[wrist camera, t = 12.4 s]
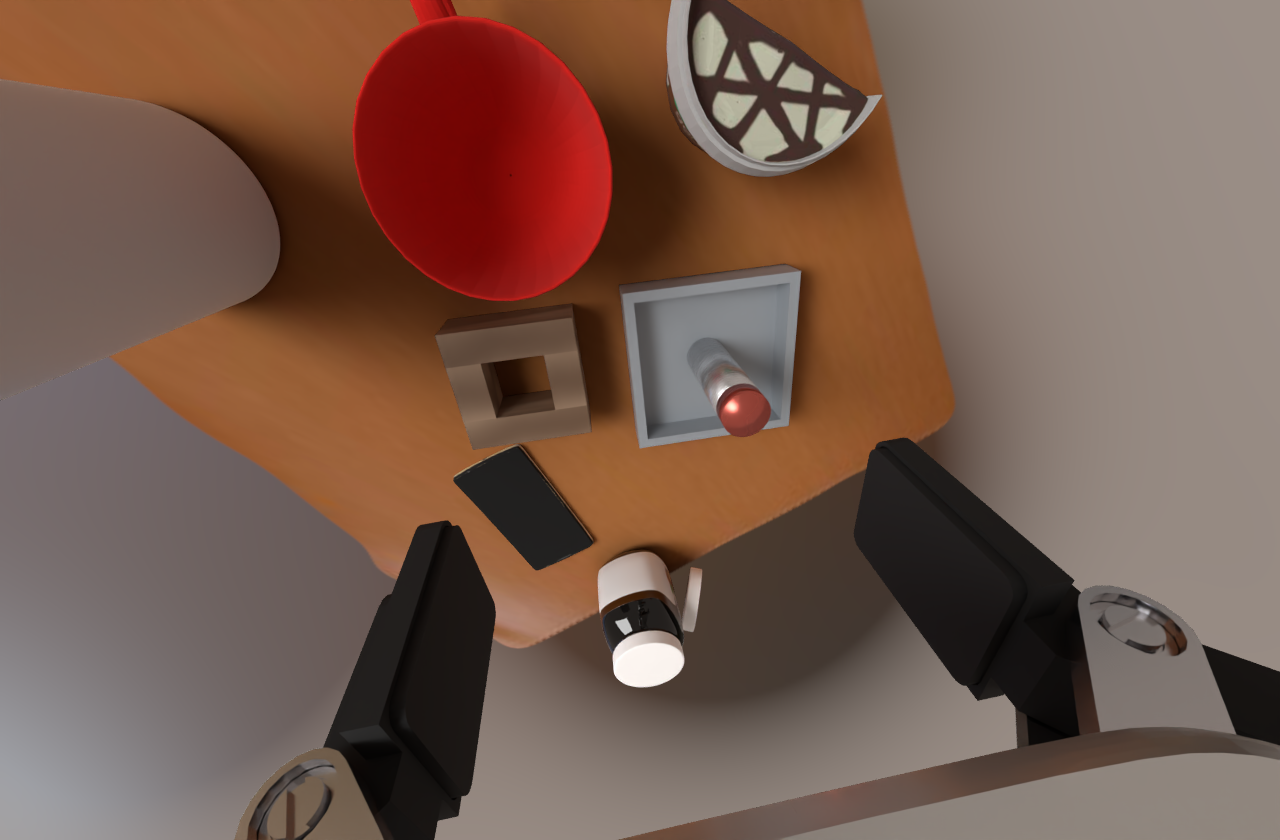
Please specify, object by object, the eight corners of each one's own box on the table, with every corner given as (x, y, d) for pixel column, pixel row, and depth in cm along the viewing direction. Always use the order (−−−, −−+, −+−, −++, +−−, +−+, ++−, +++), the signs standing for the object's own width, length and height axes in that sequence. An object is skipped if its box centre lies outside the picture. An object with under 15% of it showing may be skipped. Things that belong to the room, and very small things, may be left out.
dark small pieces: (517, 445, 42) (595, 545, 49) (518, 438, 43) (594, 538, 50) (449, 478, 43) (536, 573, 50) (452, 472, 44) (537, 565, 51)
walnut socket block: (447, 319, 36) (434, 335, 33) (571, 303, 37) (571, 317, 34) (481, 426, 41) (472, 449, 38) (590, 410, 42) (591, 432, 39)
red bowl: (544, -52, 27) (531, -156, 18) (624, 241, 35) (641, 265, 27) (338, 15, 27) (227, -56, 18) (466, 290, 36) (432, 330, 27)
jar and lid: (587, 555, 51) (590, 651, 41) (680, 519, 50) (707, 608, 40) (626, 616, 57) (638, 713, 47) (711, 585, 56) (741, 677, 46)
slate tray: (618, 284, 37) (622, 293, 34) (785, 263, 38) (801, 271, 35) (635, 431, 44) (639, 448, 41) (776, 410, 45) (788, 425, 42)
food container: (616, 124, 31) (632, 108, 23) (653, 20, 29) (688, -42, 20) (762, 203, 35) (823, 216, 27) (806, 117, 33) (889, 100, 24)
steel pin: (686, 340, 39) (722, 396, 30) (724, 335, 39) (772, 389, 30) (687, 376, 41) (722, 440, 31) (724, 370, 41) (769, 433, 32)
